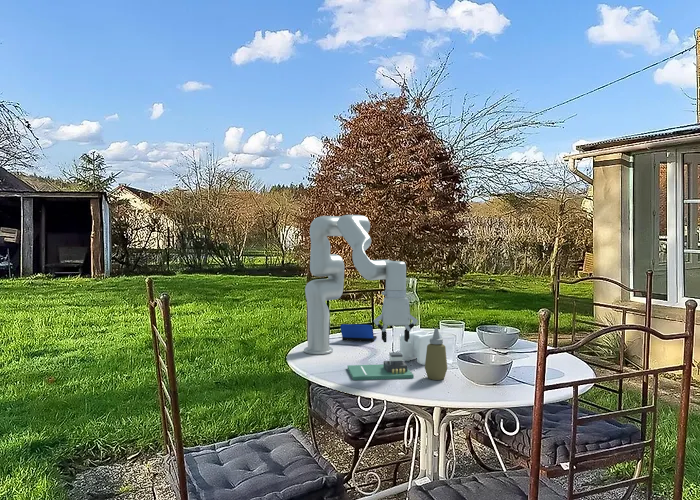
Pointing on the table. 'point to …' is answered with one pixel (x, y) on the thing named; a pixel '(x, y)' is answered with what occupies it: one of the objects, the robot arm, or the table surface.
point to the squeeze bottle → (436, 358)
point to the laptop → (357, 332)
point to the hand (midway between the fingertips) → (395, 341)
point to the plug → (395, 358)
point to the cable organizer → (415, 346)
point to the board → (380, 371)
